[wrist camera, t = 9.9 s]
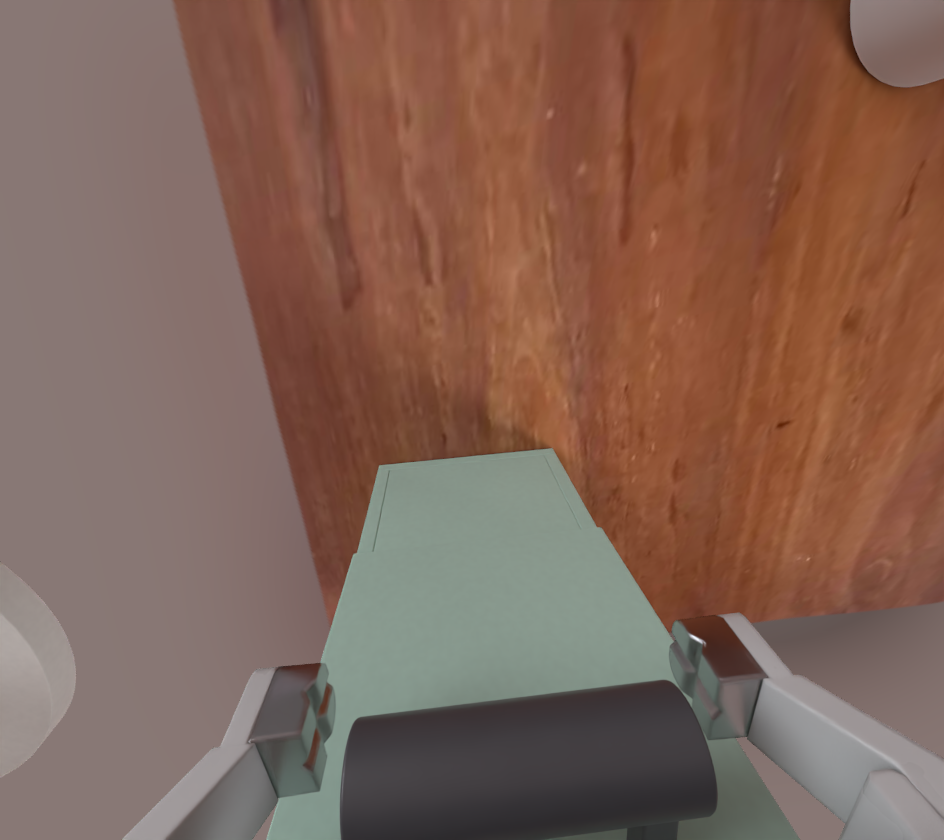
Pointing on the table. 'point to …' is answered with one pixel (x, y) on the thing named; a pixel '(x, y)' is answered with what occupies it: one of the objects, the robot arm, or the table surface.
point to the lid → (515, 707)
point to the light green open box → (471, 500)
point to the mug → (900, 39)
